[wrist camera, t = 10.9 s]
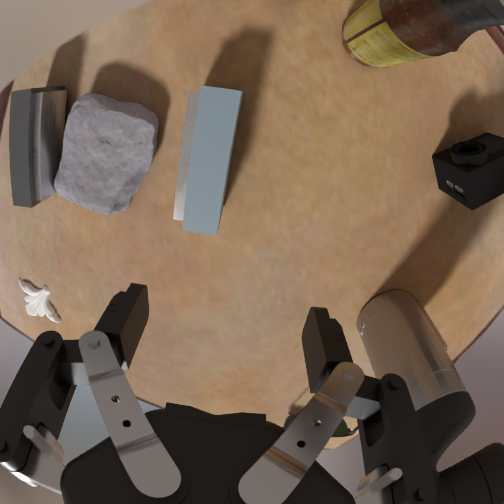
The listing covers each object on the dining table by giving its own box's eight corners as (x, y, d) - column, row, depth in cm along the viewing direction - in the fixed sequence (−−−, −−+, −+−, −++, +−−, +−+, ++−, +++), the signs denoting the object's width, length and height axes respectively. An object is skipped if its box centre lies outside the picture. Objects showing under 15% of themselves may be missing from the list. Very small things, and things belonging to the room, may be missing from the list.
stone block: (172, 111, 26) (87, 87, 23) (168, 118, 23) (69, 92, 19) (138, 207, 32) (63, 185, 28) (131, 229, 28) (47, 204, 24)
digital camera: (485, 123, 24) (524, 134, 18) (492, 162, 26) (528, 179, 20) (428, 145, 26) (466, 161, 20) (438, 188, 28) (473, 211, 22)
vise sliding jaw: (243, 93, 24) (241, 91, 19) (222, 210, 30) (216, 235, 25) (200, 87, 23) (188, 84, 18) (184, 205, 29) (170, 228, 24)
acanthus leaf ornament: (63, 318, 39) (58, 326, 37) (34, 312, 39) (29, 319, 37) (49, 280, 35) (43, 288, 33) (20, 276, 35) (13, 282, 33)
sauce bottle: (401, 65, 22) (562, 67, 5) (349, 73, 23) (502, 56, 6) (382, 10, 19) (521, -44, 2) (327, 14, 20) (442, -78, 2)
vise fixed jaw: (71, 85, 22) (38, 87, 17) (67, 189, 28) (38, 208, 23) (45, 88, 22) (11, 91, 17) (43, 186, 28) (13, 205, 22)
